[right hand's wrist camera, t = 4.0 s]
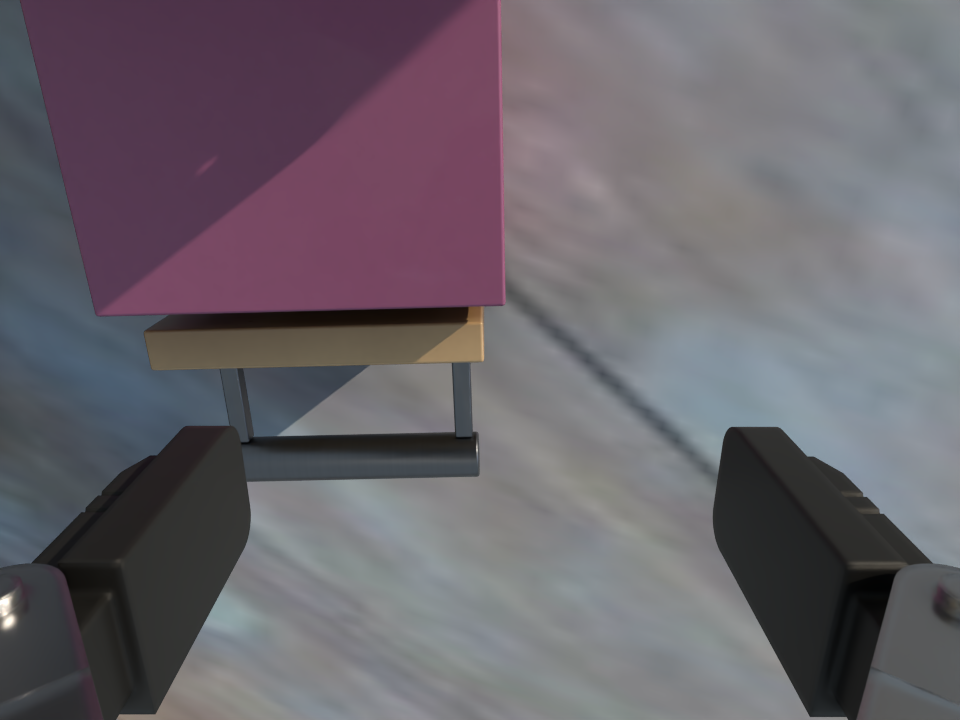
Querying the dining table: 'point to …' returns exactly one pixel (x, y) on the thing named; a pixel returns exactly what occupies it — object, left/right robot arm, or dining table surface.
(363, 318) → the drawer
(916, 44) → the dining table surface
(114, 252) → the magenta rectangular box
